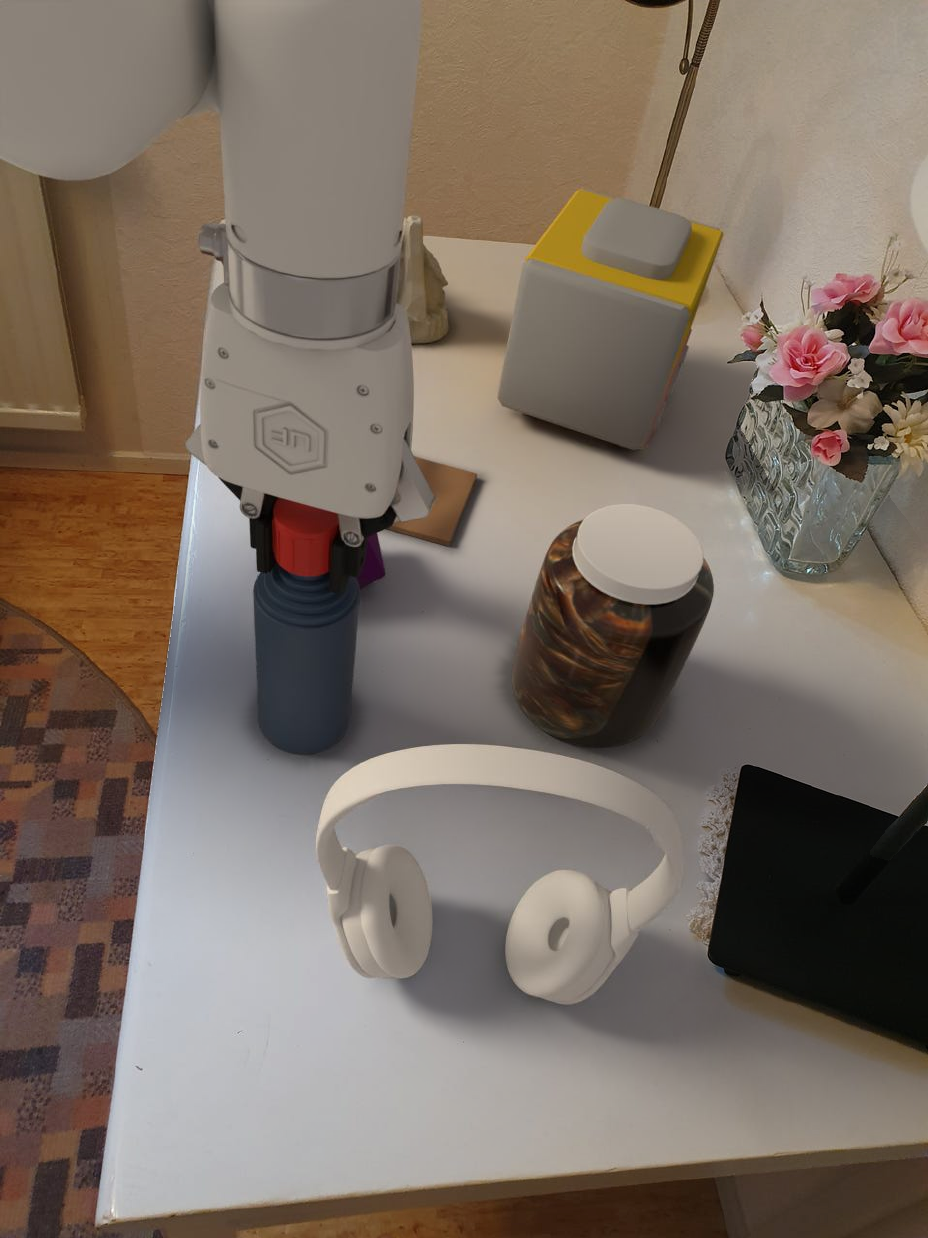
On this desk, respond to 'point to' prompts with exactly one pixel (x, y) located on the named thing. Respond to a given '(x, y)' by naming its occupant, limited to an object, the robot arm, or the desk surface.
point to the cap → (303, 537)
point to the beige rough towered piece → (421, 286)
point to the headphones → (547, 913)
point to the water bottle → (304, 658)
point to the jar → (611, 625)
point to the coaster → (440, 503)
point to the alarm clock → (606, 317)
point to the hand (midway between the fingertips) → (308, 565)
